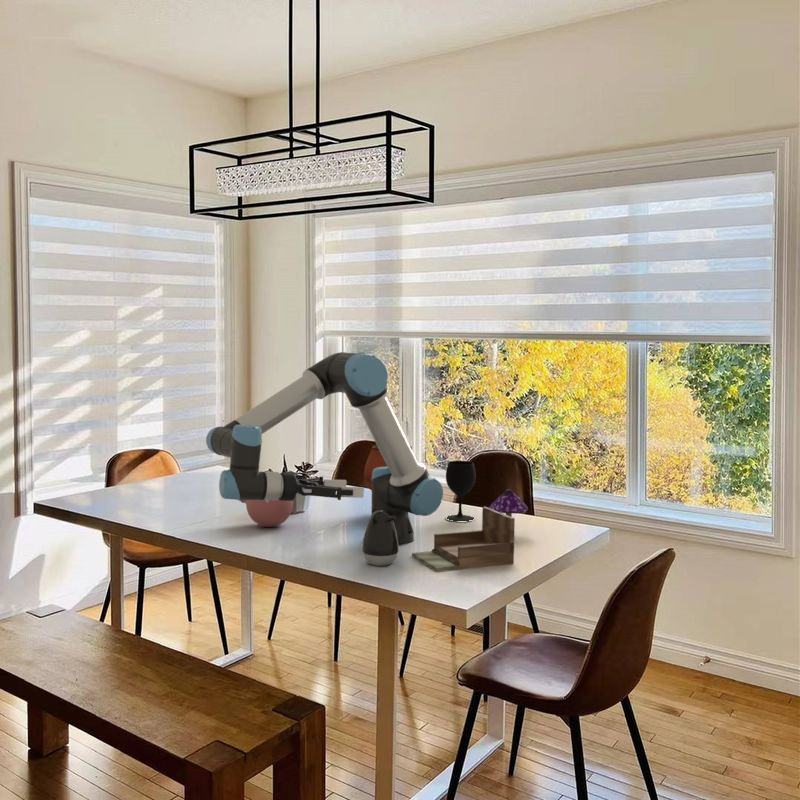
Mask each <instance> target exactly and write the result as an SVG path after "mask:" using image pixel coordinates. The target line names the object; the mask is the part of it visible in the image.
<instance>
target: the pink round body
mask: <svg viewBox="0 0 800 800" xmlns="http://www.w3.org/2000/svg"><path fill="white" fill-rule="evenodd" d="M238 501H239V502H241V503H242V504H245V506H246V507H245V508H246V511H247V514H248V516H249V517H250V519H251V520H252V521H253V522H254V523H256V524H257V525H259V526H262V527H265V528H273V527H277V526H280V525H282V524H283V523H285V522H286V520H288V519H289V517H290V515H291V514H292V511H293V507H294V500H293V501H280V500H279V499H278V500H269V502H268V503H267V502H266V500H238Z"/></svg>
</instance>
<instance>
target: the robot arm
mask: <svg viewBox="0 0 800 800" xmlns="http://www.w3.org/2000/svg"><path fill="white" fill-rule="evenodd" d="M388 378H389V372H388V368H387V366H386V364H385V363H384V361H383V360H382V359H381V358H379V357H378V356H376V355H374V354H372V353H371V354H370V353H368V352H357V353H356V352H336V353H332V354H330V355H328V356H325V358H323V359H321V360H319V361H317V362H316V363H314V364H313V365H312V366H310V367H308V368H306V369H305V370H304V371H303V372H302V376H301V377H299V378H298V379H297V380H295V381H292V383H290V384H289V385H287V386H286V387H283V388H282V389H280V390H279V391H277V392H276V393H274V394H273V395H271V396H270V397H268V398H266V399H265V400H264V401H262V402H261V403H258V405H256V406H254V407H253V408H251V409H249V410H248V411H246V412H244V413H243V414H242V415H240V416H238V417H237V418H236V419H234V420H232V421H230V422H229V423H227V424H225V425H224V426H222V425H221V426H216V427H213V428H211V429H210V430H209V431H208V432H207V435H206V438H205V443H206V447H207V448H208V450H210V451H211V452H212V453H214V454H216V455H218V456H223V457H227V458H229V459H230V461H229V469H227V470H223V471H221V473H220V477H219V482H218V483H219V484H218V487H219V494H220V495H219V496H221V498H223V499H225V500H235V501H236V500H237V501H239V500H266V502H267V503H268V502H269V500H278V499H279V500H280V501H293V502H294V500H295V498H296V495H297V494H299V495H301V496H302V497H303V496H311V497H322V498H323V497H324V498H332V499H333V498H334V499H337V501H342V500H341V498H353V499H354V498H358V499H363V498H364V494H365V493H364V492H365V488H364V487H363V486H362V487H361V486H359V487H358V486H347V483H348V482H347V480H346V479H328V478H327V479H324V476H319V477H314V478H297V476H296V474H295V473H294V472H287V471H286V472H283V471H282V472H278V471H260V462H261V461H260V459H261V450H262V443H263V439H262V437H263V436H262V435H263V434H265V433H266V432H268V431H269V430H271V429H272V428H273V427H275V426H277V425H278V424H280V423H282V422H283V421H284V420H286V419H287V418H289V417H291V416H292V415H294V414H295V413H297V412H298V411H300V410H301V409H302V408H304V407H307V405H309V404H311V403H312V402H313V401H315V400H323V399H324V398H325V397H327V396H330V395H332V394H337V393H342V394H345V395H346V398H347V399H348V401H349V403H350V406H351V407H352V408H355V409H358V410H359V412H360V414H361V415H362V418H363V419H364V422H365V424H366V426H367V428H368V430H369V432H370V433H371V436H372V438H373V439H374V442H375V444H376V445H377V446H378V448H379V450H380V452H381V454H382V456H383V458H384V460H385V462H386V464H387V467H378V468H375V469H374V470H373V472H372V479H371V481H372V491H371V513H370V514H371V515H370V517H371V516H372V514H373V513H374V512H376V511H378V510H383V511H386V512H387V513H388V514H389V515H390V516H395V517H396V518H395V519H394V520H393V523H394V526H395V529H396V533H397V538H398V545H400V544H401V545H402V544H407V543H411V542H412V540H413V541H414V539H415V538H414V537H415V535H414V528H413V526H412V525H413V524H412V522H411V519H410V515H409V513H410V514H411V515H415V516H422V517H426V516H430V515H432V514H433V513H435V512H436V511H437V510H438V509H439V507H440V505H441V504H442V501H443V497H444V488H443V485H442V483H441V482H440V480H438V479H437V478H436V477H431V475H430V473H429V471H428V468H426V466H425V464H424V463H423V462H420V461H418V460H417V458H416V455H415V454H414V452H413V450H412V449H413V448H412V449H411V447H412V446H411V445H410V443H409V441H408V440H407V437H406V435H405V433H404V431H403V428H402V427H401V425H400V423H399V420H398V418H397V416H396V413H395V412H394V409H393V408H392V406H391V403H390V402H389V400H388V397H387V394H388V392H389V387H388ZM410 446H411V447H410Z"/></svg>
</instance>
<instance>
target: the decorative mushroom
mask: <svg viewBox="0 0 800 800" xmlns="http://www.w3.org/2000/svg"><path fill="white" fill-rule="evenodd" d="M489 508H490V509H493V510H495V511H498V512H500V513H503V514H505V515H508V516H510V517H513V515H514V514H522V513H526V512H528V511H529V507H528V506H527V505H526V504H525V503H524V502H523V501H522V499H521V498H520V497H519V496H518V495H517V494H516V493H515V492H514V491H513V490H512V489H506V490H505V492H504V493H502V494H501V495H500V496H498V497H497V498H496V499H495V500H494V501H493V502H492V503H491V504H490V505H489ZM512 514H513V515H512Z"/></svg>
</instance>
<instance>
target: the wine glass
mask: <svg viewBox="0 0 800 800" xmlns="http://www.w3.org/2000/svg"><path fill="white" fill-rule="evenodd" d="M476 474H477V473H476V468H475V464H474V462H473V461H467V460H451V461H448V463H447V467H446V471H445V480H446V481H445V482H446V484H447V486H448V488H449V490H450V491H451V492H452V493H453V494H455V495H456V496H457V498H458V512H457V514H451V516H450V515H447V516H448V517H447V519H449V520H453V521H469V520H473V519H474V518H475V517H474V516H472V517H471V515H466V514H463V509H462V505H463V504H462V503H463V497H464V496H466V494H468V493H469V492H470V491H471V490H472V489H473V487H474V486H475V483H476V477H477V475H476Z"/></svg>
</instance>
